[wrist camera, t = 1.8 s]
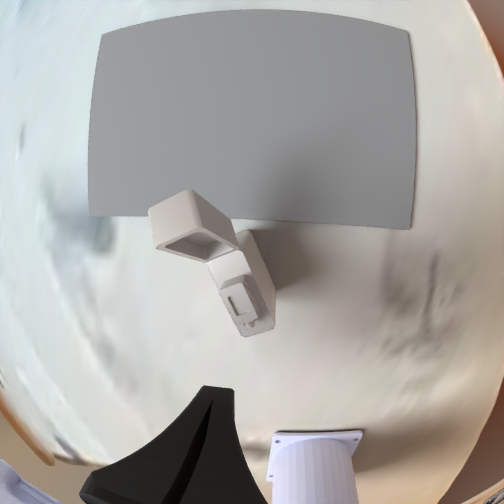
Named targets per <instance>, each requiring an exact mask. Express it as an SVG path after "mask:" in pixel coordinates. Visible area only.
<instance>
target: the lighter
mask: <svg viewBox="0 0 504 504" xmlns="http://www.w3.org/2000/svg"><path fill="white" fill-rule="evenodd" d="M148 215H149V220H150V225H151V230H152V234H153V239H154V243H155V247H156V249H159V250H162V251H166V252H169V253H172V254H176V255H179V256H183V257H186V258H190V259H193V260H197V261H200V262H208V263H207V268H208V270H209V272H210V274H211V276H212V278H213V280H214V283H215V285H216V287H217V289H218V291H219V294H220V296H221V298H222V300H223V302H224V304H225V306H226V308H227V310H228V312H229V314H230V316H231V318H232V320H233V322H234V324H235V325H236V327H237V329H238V331H239V332H240V334H241V336H243V337H249V336H252V335H256V334H259V333H262V332H265V331H268V330H271V329H273V328H274V326H275V305H276V288H275V286H274V284H273V281H272V279H271V277H270V274H269V272H268V270H267V267H266V265H265V263H264V260H263V258H262V256H261V253H260V251H259V249H258V246H257V244H256V242H255V239H254V237H253V235H252V232H251V231H249V230H245V231H243V232H240V233H238V234H235V232H234V229H233V226H232V223H231V220H230V219H229V218H228V217H226V216H225V215H224V214H223V213H221V212H220V211H219V210H218V209H216V208H215V207H214V206H213V205H211V204H210V203H209V202H208V201H206V200H205V199H204V198H203V197H201V196H200V195H199V194H198V193H196V192H195V191H194V190H184V191H182V192H180V193H178V194H176V195H174V196H172V197H170V198H168V199H166V200H164V201H162V202H160V203H158V204H156V205H154V206H153V207H151V208H149V210H148Z"/></svg>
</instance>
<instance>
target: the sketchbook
mask: <svg viewBox="0 0 504 504" xmlns="http://www.w3.org/2000/svg"><path fill="white" fill-rule="evenodd" d="M502 500H504V488H503V489H502V490H500V491H499V492H497V493H496V494H495V495H493V496H492V497H490V498H488V499H487V500H486V501H485V503H484V504H498V503H499V502H501V501H502Z"/></svg>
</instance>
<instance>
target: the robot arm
mask: <svg viewBox="0 0 504 504" xmlns="http://www.w3.org/2000/svg"><path fill="white" fill-rule="evenodd" d="M234 417H235V413H234V390H233V389H230V388H221V387H212V386H205V385H204V386H202V387H201V389H200V390H199V392H198V393H197V395H196V396H195V397H194V399H193V400H192V401H191V402H190V404H189V405H188V406H187V407H186V408H185V410H184V411H183V412H182V413H181V414H180V415H179V416H178V417H177V418H176V419H175V420H174V421H173V422H172V423H171V424H170V425H169V426H168V427H167V428H166V429H165V430H164V431H163V432H162V433H161V434H159V435H158V436H157V437H156V438H154V439H153V440H152V441H151V442H149V443H148V444H146V445H145V446H143V447H142V448H141V449H139V450H138V451H136V452H134V453H133V454H131V455H129V456H127V457H125V458H123V459H121V460H119V461H118V462H115V463H113V464H111V465H108V466H106V467H103V468H101V469H98V470H95V471H93V472H92V473H91V474H90V476H89V477H88V478H87V480H86V481H85V483H84V485H83V487H82V489H81V491H80V493H79V495H80V497H81V499H82V500H83V501H84V502H85V503H86V504H268V503H267V501H266V500H265V498H264V497H263V495H262V493H261V492H260V490H259V488H258V486H257V484H256V482H255V480H254V478H253V476H252V474H251V472H250V470H249V468H248V465H247V463H246V460H245V458H244V455H243V452H242V449H241V446H240V443H239V439H238V435H237V431H236V426H235V420H234ZM362 436H363V433H362V431H360V430H357V431H344V432H323V433H282V432H278V433H275V434H273V437H272V444H271V451H270V457H269V464H268V470H267V476H266V480H267V481H269V482H273V488H272V504H359V500H358V494H357V488H356V482H355V476H354V470H353V465H352V459H351V458H352V456H353V454H354V452H355V450H356V448H357V446H358V444H359V442H360V440H361V438H362ZM0 504H63V503H61V502H59V501H58V500H56V499H54V498H53V497H51V496H49V495H48V494H46V493H44V492H43V491H41V490H40V489H38V488H37V487H35V486H33V485H32V484H30V483H29V482H28V481H26V480H25V479H23V478H22V477H20V475H19V474H18V473H17V472H16V471H15V470H14V469H13V468H12V467H11V466H10V465H8V464H7V463H6V462H5V461H3V460H2V459H1V458H0Z"/></svg>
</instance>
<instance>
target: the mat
mask: <svg viewBox="0 0 504 504" xmlns="http://www.w3.org/2000/svg"><path fill="white" fill-rule="evenodd" d="M415 159H416V111H415V92H414V79H413V68H412V59H411V51H410V44H409V38H408V32H407V31H406V30H402V29H399V28H395V27H391V26H388V25H384V24H380V23H375V22H371V21H366V20H361V19H356V18H351V17H345V16H339V15H332V14H325V13H316V12H306V11H292V10H229V11H216V12H205V13H197V14H189V15H182V16H176V17H170V18H165V19H160V20H155V21H150V22H146V23H141V24H137V25H133V26H129V27H126V28H122V29H119V30H115V31H112V32H109V33H105V34H102V37H101V42H100V47H99V52H98V57H97V63H96V69H95V76H94V83H93V91H92V100H91V110H90V123H89V141H88V199H89V216H149V215H148V210H149V208H151V207H153V206H154V205H156V204H158V203H160V202H162V201H164V200H166V199H168V198H170V197H172V196H174V195H176V194H178V193H180V192H182V191H184V190H194V191H195V192H196V193H198V194H199V195H200V196H201V197H203V198H204V199H205V200H206V201H208V202H209V203H210V204H211V205H213V206H214V207H215V208H216V209H218V210H219V211H220V212H221V213H223V214H224V215H225V216H226V217H228V218H229V219H253V220H274V221H292V222H309V223H325V224H340V225H354V226H367V227H379V228H391V229H402V230H410V223H411V214H412V204H413V193H414V180H415Z"/></svg>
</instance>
